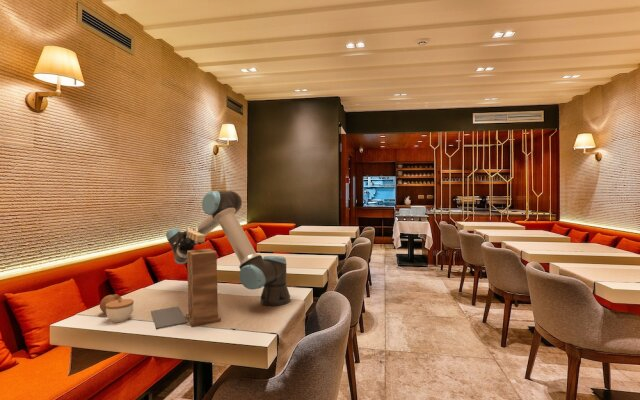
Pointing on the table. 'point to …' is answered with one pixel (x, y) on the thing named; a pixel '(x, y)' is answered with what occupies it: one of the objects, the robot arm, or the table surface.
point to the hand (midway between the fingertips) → (192, 229)
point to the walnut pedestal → (202, 287)
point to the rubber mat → (168, 317)
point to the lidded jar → (119, 309)
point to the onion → (107, 300)
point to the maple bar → (196, 236)
